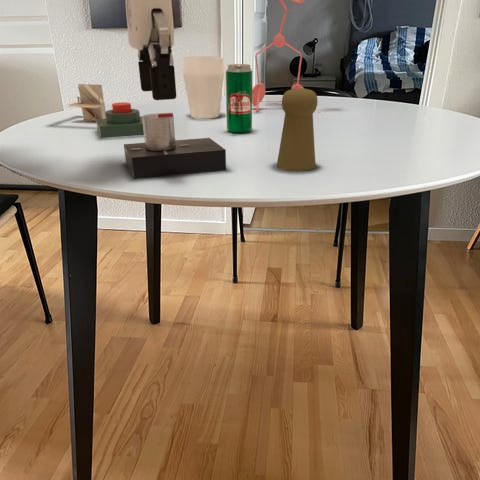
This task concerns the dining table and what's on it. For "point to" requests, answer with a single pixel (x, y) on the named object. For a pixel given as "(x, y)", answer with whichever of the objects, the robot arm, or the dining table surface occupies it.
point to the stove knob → (159, 131)
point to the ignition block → (120, 124)
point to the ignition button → (121, 107)
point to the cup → (203, 85)
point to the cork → (298, 131)
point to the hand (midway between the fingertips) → (158, 94)
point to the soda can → (239, 98)
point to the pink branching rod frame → (258, 89)
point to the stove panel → (175, 158)
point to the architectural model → (90, 102)
